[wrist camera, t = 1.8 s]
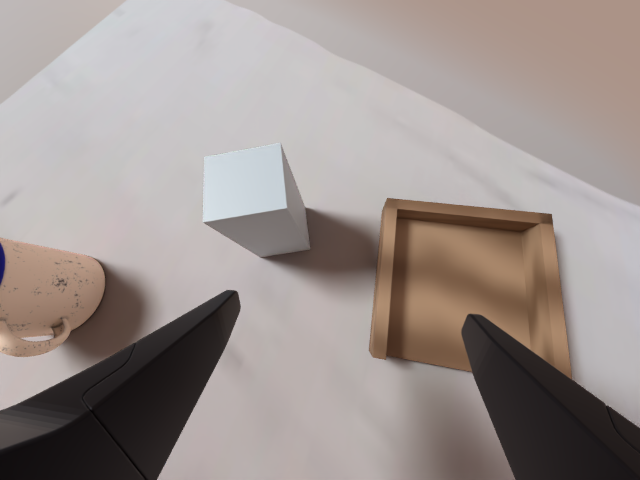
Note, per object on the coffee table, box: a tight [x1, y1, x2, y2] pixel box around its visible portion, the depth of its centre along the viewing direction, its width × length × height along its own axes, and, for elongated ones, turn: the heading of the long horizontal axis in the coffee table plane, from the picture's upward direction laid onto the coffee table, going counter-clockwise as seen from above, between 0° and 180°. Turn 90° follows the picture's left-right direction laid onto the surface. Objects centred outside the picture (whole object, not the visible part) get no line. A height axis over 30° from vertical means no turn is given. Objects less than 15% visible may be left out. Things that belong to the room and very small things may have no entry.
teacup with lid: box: [0, 238, 105, 357], centre depth 20 cm, size 12×9×12 cm
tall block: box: [203, 143, 310, 257], centre depth 20 cm, size 5×6×10 cm
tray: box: [369, 198, 572, 379], centre depth 20 cm, size 14×14×3 cm
